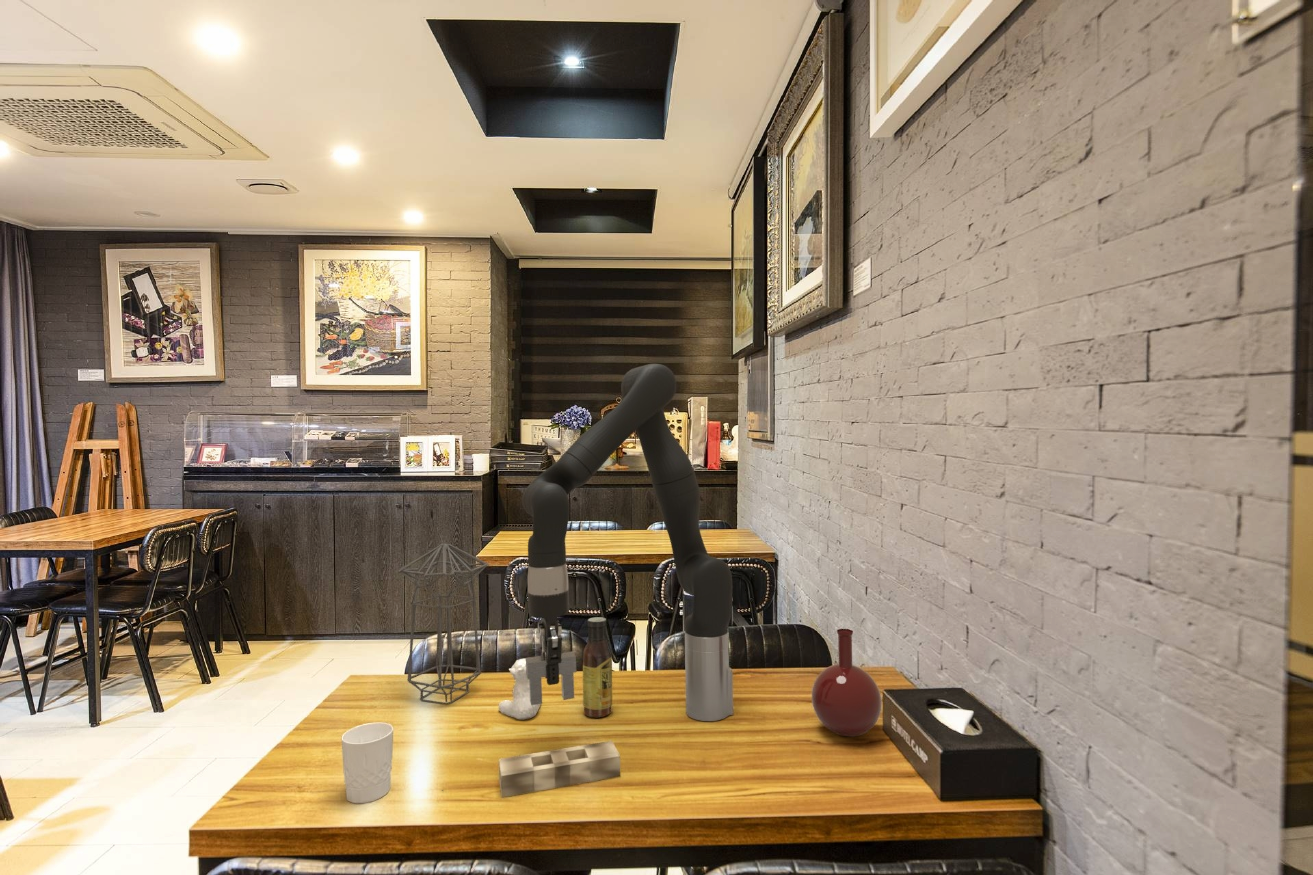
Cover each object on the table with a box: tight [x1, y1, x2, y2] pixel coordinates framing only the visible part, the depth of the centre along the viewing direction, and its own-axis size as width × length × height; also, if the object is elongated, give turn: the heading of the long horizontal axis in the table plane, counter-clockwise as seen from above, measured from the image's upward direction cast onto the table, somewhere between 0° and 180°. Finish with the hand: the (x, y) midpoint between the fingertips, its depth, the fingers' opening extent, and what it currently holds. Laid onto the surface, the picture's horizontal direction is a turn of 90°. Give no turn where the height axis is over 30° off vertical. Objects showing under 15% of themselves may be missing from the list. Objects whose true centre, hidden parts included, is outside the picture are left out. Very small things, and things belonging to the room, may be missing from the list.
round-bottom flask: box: [811, 628, 883, 737], centre depth 126 cm, size 13×13×20 cm
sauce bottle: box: [582, 616, 613, 719], centre depth 137 cm, size 7×6×20 cm
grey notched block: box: [525, 651, 577, 705], centre depth 120 cm, size 9×3×8 cm, turn 108°
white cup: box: [341, 722, 394, 804], centre depth 107 cm, size 8×8×10 cm
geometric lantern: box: [398, 543, 490, 706], centre depth 148 cm, size 16×16×35 cm
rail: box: [498, 740, 621, 798], centre depth 110 cm, size 20×6×4 cm, turn 108°
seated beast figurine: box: [498, 657, 542, 721], centre depth 137 cm, size 10×9×12 cm
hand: (551, 679), depth 120 cm, fingers closed on grey notched block, 3 cm apart
